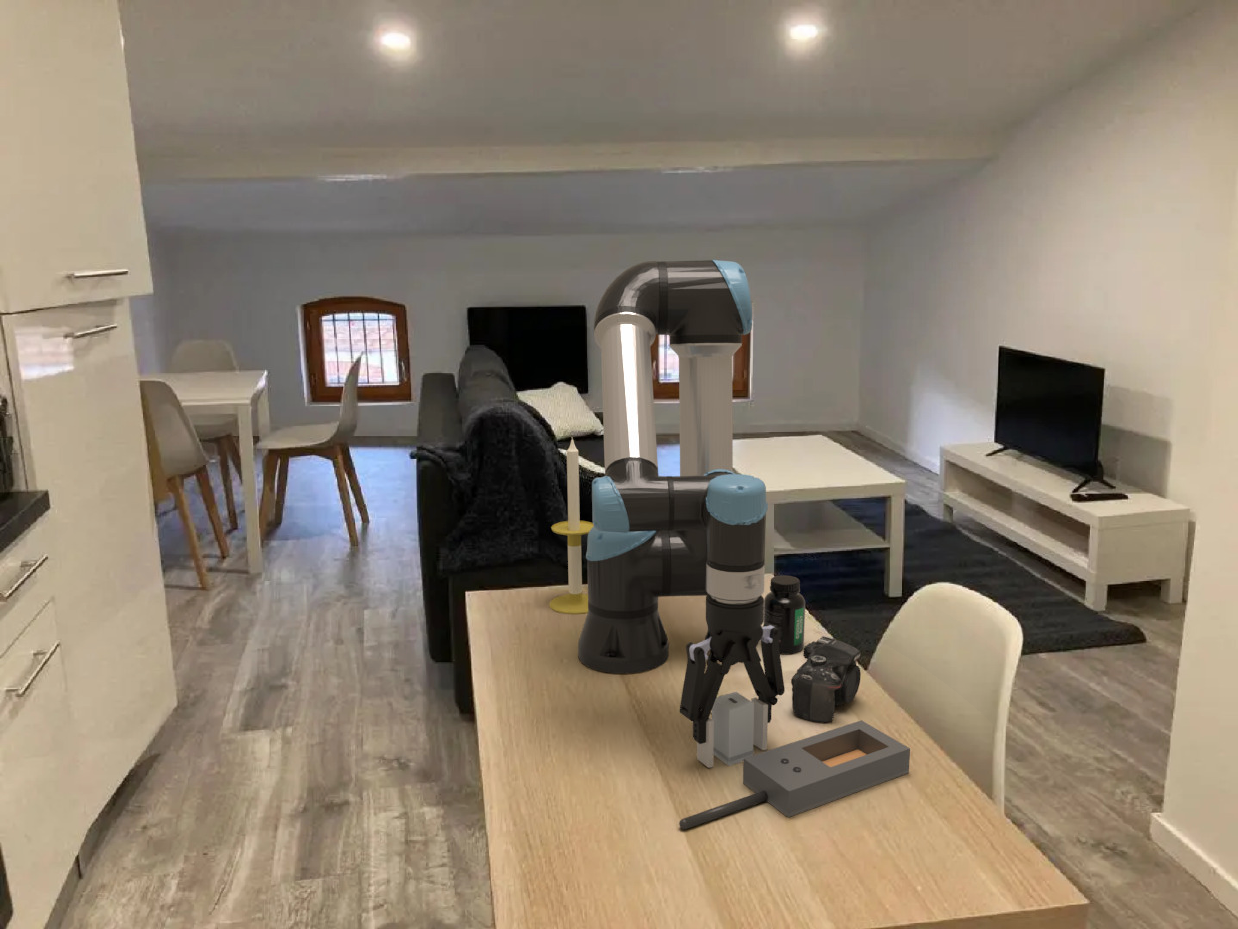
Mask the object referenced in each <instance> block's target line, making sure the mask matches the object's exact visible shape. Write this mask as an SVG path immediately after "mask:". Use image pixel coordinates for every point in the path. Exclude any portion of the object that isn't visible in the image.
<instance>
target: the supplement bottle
mask: <svg viewBox="0 0 1238 929" xmlns="http://www.w3.org/2000/svg"><path fill="white" fill-rule="evenodd" d="M800 583H801V581H800V579H799V578H798V577H796V576H792V575H776V576H773V577H771V578H770V586H769V591H770V592H768V593H767V594H766V595H765V597H764V620H763V625H764V624H766V623H767V624H770V625H772V626H773V627H775V628H777V629H779V630H780V631H781V634H780V640H779V651H780V655H793V654H796V653H799V652H800V651H802V649H804V647H805V645H804V644H805V622H806V621H805V620H806V619H805V618H806V617H805V616H806V600H805V598H804V596H803V595H802V594H801V593H800V592H801V588H800V587H801V584H800Z"/></svg>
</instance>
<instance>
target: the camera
mask: <svg viewBox="0 0 1238 929" xmlns="http://www.w3.org/2000/svg"><path fill="white" fill-rule="evenodd" d="M802 653H803V654H802V656H803V657H804V659H805V660H806V661H805V662H804V663H803V664H802V665H800V667H799V668H798V669H797V670H796V671H797V672H796V673H795V674H794V675H793V676H792V677H791V679H790V680H791V681H790V683H791V684H790V685H791V686H792V687H791V691H792V694H791V702H792V703H791V706H792V709H793V710H792V711H793V712H794V714H795V716H797V717H798V718H800V719H804V720H806V721H809V722H814V723H819V724H821V723H822V724H830V723H832V721H833V718H834V715H835V706H841V705H843V704H851V703H852V702H853V700H854V699H855V697H856V695H857V694H858V691H859V687H860V684H861V676H862V675H861V674H862V673H861V668H860V667H859V665H857V660H858V659H859V658H860V657H861V656H862V655H861V650H859V649H858V648H857V647H855V646H853V645H850V644H848V643H846V642H844V641H841V640H838V639H835V638H834V637H831V636H827V635H824V634H823V635H822V636H821V637H820V638H818V639H817V641H815V640H813V641H812V642H809V643H808V644H807V645H804V646H803V652H802Z"/></svg>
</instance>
